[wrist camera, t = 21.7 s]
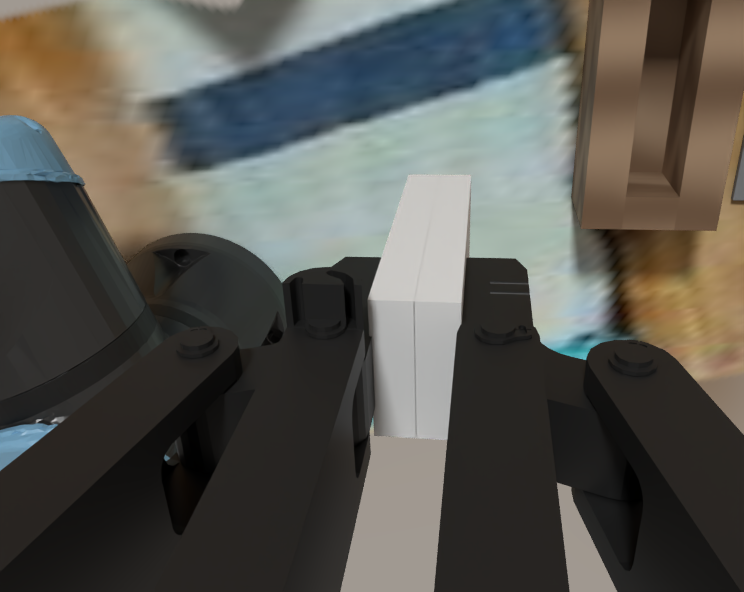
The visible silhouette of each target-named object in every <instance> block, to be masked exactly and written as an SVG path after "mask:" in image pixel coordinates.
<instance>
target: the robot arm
mask: <svg viewBox="0 0 744 592" xmlns="http://www.w3.org/2000/svg"><path fill="white" fill-rule="evenodd" d="M84 185H85V183H84V181H83V179H82V178H81V177H80V176H79V175H76V174H75V173H74V172H73V170H72V168H71V167H70V165H69V164H68V162H67V160H66V159H65V157H64V156H63V154H62V152H61V151H60V149H59V148H58V146H57V144H56V143H55V141H54V140H53V138H52V136H51V135H50V133H49V132H48V131H47V130H46V129H45V128H44V127H43V126H42V125H41V124H39V123H38V122H36V121H34V120H32V119H29V118H26V117H22V116H16V115H6V116H0V592H340V590H341V585H342V581H343V577H344V572H345V568H346V563H347V559H348V554H349V549H350V545H351V541H352V536H353V531H354V527H355V523H356V518H357V513H358V509H359V505H360V500H361V495H362V491H363V487H364V482H365V478H366V473H367V469H368V464H369V460H370V455H371V451H370V433H369V431H370V426H371V422H372V418H373V420H374V436H389V437H405V438H422V439H438V440H439V439H440V440H447V450H446V462H445V473H444V484H443V497H442V508H441V519H440V530H439V543H438V554H437V565H436V576H435V589H434V592H569V584H568V575H567V567H566V558H565V550H564V541H563V532H562V523H561V515H560V506H559V498H558V489H557V483H561V484H564V485H567V486H570V487H572V495H573V500H574V503H575V505H576V507H577V509H578V511H579V513H580V515H581V517H582V519H583V521H584V524H585V525H586V528H587V530H588V532H589V534H590V536H591V538H592V540H593V542H594V544H595V546H596V548H597V550H598V553H599V555H600V557H601V559H602V561H603V563H604V565H605V567H606V569H607V571H608V573H609V575H610V577H611V579H612V581H613V583H614V586H615V588H616V590H617V592H744V435H743V434H742V433H741V432H740V430H739V429H738V428H737V427H736V426H735V425H734V424H733V423H732V422H731V420H730V419H729V418H728V417H727V416H726V415H725V414H724V412H723V411H722V410H721V409H720V408H719V407H718V406H717V405H716V403H715V402H714V401H713V400H712V399H711V398H710V397H709V396H708V394H706V392H705V391H704V390H703V389H702V388H701V387H700V385H699V384H698V383H697V382H696V381H695V380H694V379H693V378H692V376H691V375H690V374H689V373H688V372H687V371H686V370H685V369H684V367H683V366H682V365H681V364H680V363H679V362H678V361H677V360H676V359H675V358H674V357H673V356H671V355H670V354H669V353H668V352H666V351H665V350H663V349H660V348H658V347H656V346H653V345H651V344H649V343H645V342H641V341H640V342H638V341H636V340H613V341H608V342H604V343H600V344H598V345H597V346H595V347H593V348H591V349H590V351H589V353H588V355H587V358H586V360H583V359H578V358H574V357H570V356H566V355H563V354H560V353H557V352H555V351H553V350H551V349H549V348H547V347H546V346H545V345H543V344H542V343H541V342H540V336H539V334H538V332H537V330H536V328H535V327H534V326H533V319H532V310H531V301H530V295H529V293H530V292H529V284H528V274H527V269H526V268H525V267H524V266H523V265H522V264H521V263H519V262H518V261H517V260H516V259H507V258H469V244H470V201H471V175H408V178H407V181H406V184H405V187H404V190H403V193H402V196H401V199H400V203H399V206H398V209H397V212H396V215H395V218H394V221H393V224H392V227H391V230H390V233H389V236H388V239H387V242H386V245H385V248H384V251H383V254H382V257H381V258H379V257H345V258H343V259H342V260H341V261H339V262H338V263H336V264H335V265H333V266H332V267H322V268H312V269H308V270H303V271H300V272H297V273H295V274H293V275H291V276H289V277H288V278H287V279H286V280H285V281H284V282H283V283H281V282H280V280H279V279H278V277H277V276H276V275H275V274H274V272H273V271H272V270H271V269H270V268H269V267H268V266H267V265H266V264H265V263H264V262H263V261H262V260H260V259H259V258H258V257H257V256H255V255H254V254H253V253H251V252H250V251H248V250H247V249H245V248H243V247H241V246H240V245H238V244H235V243H233V242H231V241H228V240H226V239H223V238H220V237H216V236H212V235H207V234H198V233H184V234H176V235H171V236H167V237H164V238H161V239H159V240H157V241H155V242H153V243H151V244H149V245H148V246H146V247H145V248H143V249H142V250H141V251H140V252H139V253H138V254H137V255H136V256H135V257H133V258H132V259H131V260H130V261H129V262H128V263H127V264H126V263H125V261H124V259H123V257H122V256H121V254H120V252H119V250H118V248H117V247H116V245H115V243H114V241H113V239H112V237H111V236H110V234H109V232H108V230H107V228H106V227H105V225H104V223H103V221H102V219H101V218H100V216H99V214H98V212H97V210H96V209H95V207H94V205H93V203H92V201H91V199H90V198H89V196H88V194H87V192H86V190H85V189H84V187H83V186H84Z"/></svg>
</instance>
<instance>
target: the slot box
mask: <svg viewBox="0 0 744 592" xmlns="http://www.w3.org/2000/svg"><path fill="white" fill-rule="evenodd" d="M743 91H744V0H589V10H588V21H587V32H586V43H585V54H584V65H583V76H582V87H581V98H580V108H579V119H578V130H577V141H576V152H575V163H574V174H573V185H572V196H571V197H572V200H573V204H574V207H575V210H576V214H577V217H578V220H579V223H580V227H581V229H633V230H697V231H716V230H717V225H718V220H719V214H720V209H721V204H722V199H723V194H724V189H725V184H726V179H727V173H728V168H729V163H730V158H731V153H732V148H733V143H734V137H735V132H736V127H737V122H738V117H739V112H740V107H741V102H742V96H743Z"/></svg>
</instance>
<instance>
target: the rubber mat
mask: <svg viewBox="0 0 744 592" xmlns="http://www.w3.org/2000/svg"><path fill="white" fill-rule="evenodd" d="M731 199H732V200H744V137H743V142H742V147H741V152H740V157H739V162H738V167H737V172H736V177H735V182H734V187H733V192H732V197H731Z"/></svg>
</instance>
